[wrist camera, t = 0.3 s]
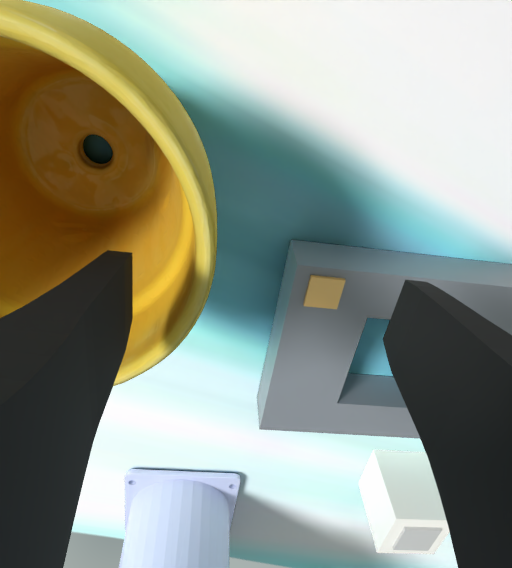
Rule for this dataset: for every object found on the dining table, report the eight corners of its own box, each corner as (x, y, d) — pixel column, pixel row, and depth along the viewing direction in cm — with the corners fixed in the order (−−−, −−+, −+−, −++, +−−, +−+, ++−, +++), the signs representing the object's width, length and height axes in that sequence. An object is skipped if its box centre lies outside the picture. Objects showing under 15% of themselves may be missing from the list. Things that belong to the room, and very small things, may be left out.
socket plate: (465, 410, 29) (485, 444, 27) (256, 396, 28) (259, 432, 25) (547, 268, 24) (581, 296, 21) (290, 239, 22) (297, 267, 19)
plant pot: (270, 123, 19) (304, 218, 11) (140, 286, 23) (91, 446, 14) (37, -78, 15) (-200, -178, 7) (-71, 161, 19) (-303, 284, 11)
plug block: (408, 485, 34) (435, 557, 29) (358, 483, 33) (377, 556, 29) (426, 451, 32) (458, 523, 27) (373, 448, 31) (397, 522, 27)
